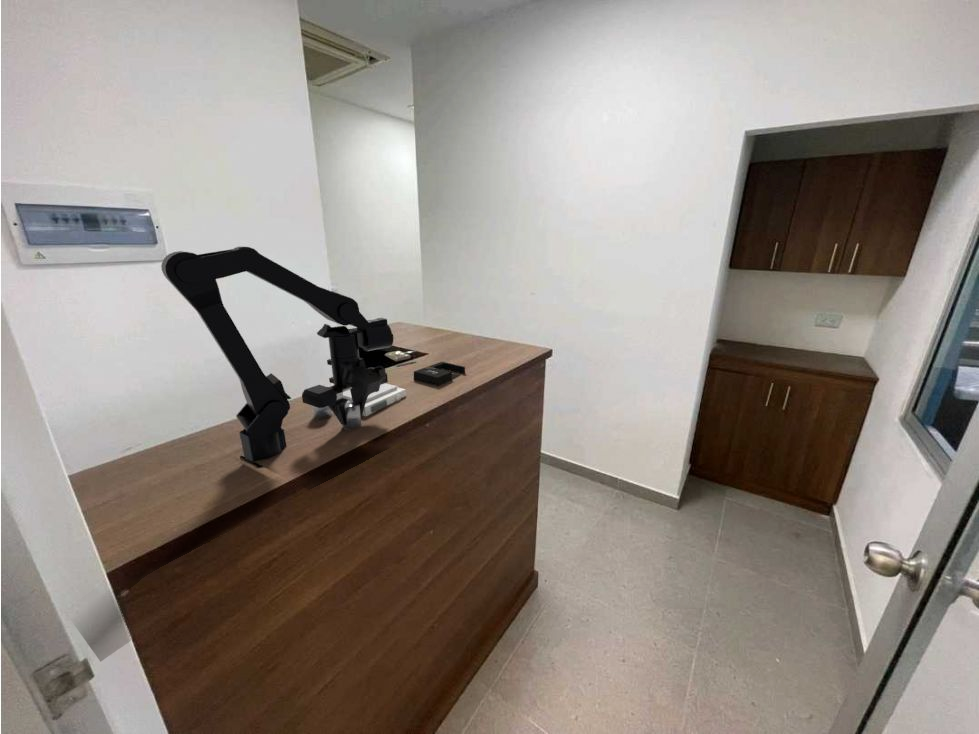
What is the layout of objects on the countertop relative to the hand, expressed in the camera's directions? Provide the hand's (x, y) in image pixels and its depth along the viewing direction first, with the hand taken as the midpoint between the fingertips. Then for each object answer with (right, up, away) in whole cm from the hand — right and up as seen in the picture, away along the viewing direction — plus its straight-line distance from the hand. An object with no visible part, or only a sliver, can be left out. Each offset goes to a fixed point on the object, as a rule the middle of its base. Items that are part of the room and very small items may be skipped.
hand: (351, 421), depth 86 cm
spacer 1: (-9, +1, +5) cm, 10 cm away
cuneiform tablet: (+4, +15, +42) cm, 45 cm away
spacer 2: (0, -1, 0) cm, 1 cm away
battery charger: (+16, +8, +30) cm, 35 cm away
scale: (-2, +4, +14) cm, 15 cm away
